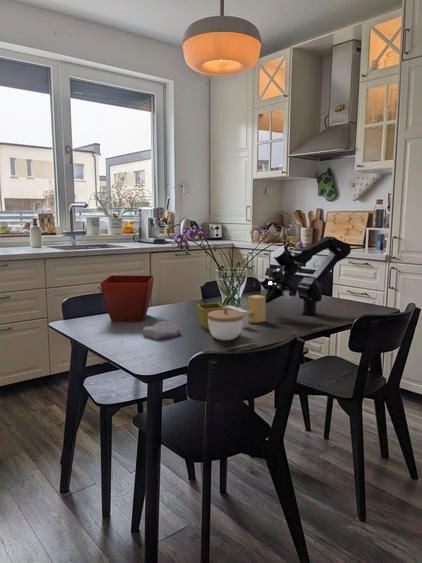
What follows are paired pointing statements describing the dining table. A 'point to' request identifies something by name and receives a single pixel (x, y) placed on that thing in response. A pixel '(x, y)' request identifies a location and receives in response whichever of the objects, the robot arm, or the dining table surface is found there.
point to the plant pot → (127, 296)
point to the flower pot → (205, 309)
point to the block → (256, 308)
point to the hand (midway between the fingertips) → (265, 302)
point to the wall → (245, 315)
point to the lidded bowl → (225, 324)
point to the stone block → (161, 330)
